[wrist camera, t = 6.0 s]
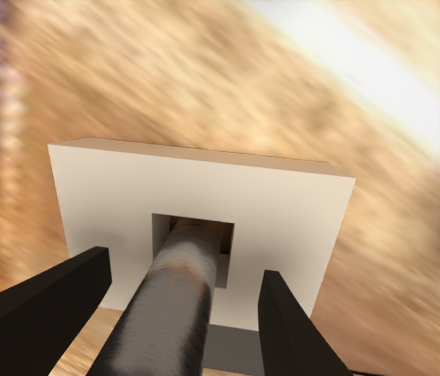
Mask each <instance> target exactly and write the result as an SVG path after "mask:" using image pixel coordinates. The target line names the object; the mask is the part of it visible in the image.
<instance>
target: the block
mask: <svg viewBox="0 0 440 376" xmlns="http://www.w3.org/2000/svg"><path fill="white" fill-rule="evenodd" d="M47 145H48V150H49V155H50V160H51V165H52V170H53V176H54V181H55V186H56V191H57V196H58V201H59V206H60V211H61V216H62V222H63V227H64V232H65V237H66V242H67V247H68V252H69V257H70V258H72V257H74V256H76V255H78V254H80V253H82V252H84V251H86V250H88V249H90V248H93V247H95V246H99V247H107V248H109V256H110V265H111V274H112V284H111V286H110V288H109V289H108V291H107V293H106V295H105V296H104V298H103V300H102V301H101V303H100V305H99V306H98V307H103V308H110V309H116V310H123V311H124V310H125V309H126V307H127V305H128V304H129V302H130V300H131V298H132V297H133V295H134V293H135V292H136V290H137V288H138V287H139V285H140V283H141V282H142V280H143V278H144V277H145V275H146V273H147V272H148V270H149V268H150V266H151V265H152V263H153V261H154V260H155V258H156V256H157V255H158V253H159V251H160V250H161V248H162V246H163V245H164V243H165V241H166V240H167V238H168V236H169V234H170V215H174V216H182V217H190V218H197V219H205V220H213V221H221V222H229V223H233V227H232V234H231V242H230V250H229V255H227V254H219V261H218V268H217V275H216V282H215V289H214V296H213V303H212V310H211V317H210V324H215V325H221V326H228V327H234V328H241V329H248V330H254V331H259V329H258V299H259V294H260V289H261V285H262V280H263V275H264V270H265V269H266V270H273V271H279V273H280V274H281V275H282V277H283V279H284V280H285V282H286V284H287V285H288V287H289V289H290V290H291V292H292V293H293V295H294V296H295V298H296V299H297V301H298V303H299V304H300V306H301V307H302V308H303V310H304V311H305V313H306V314H307V316H308V317H309V319H310V316H311V313H312V310H313V307H314V304H315V301H316V298H317V295H318V292H319V289H320V286H321V283H322V280H323V277H324V274H325V271H326V268H327V265H328V262H329V259H330V256H331V253H332V250H333V247H334V244H335V241H336V238H337V235H338V232H339V229H340V226H341V223H342V220H343V217H344V214H345V211H346V208H347V205H348V202H349V200H350V197H351V194H352V191H353V188H354V185H355V182H356V179H357V178H355V177H354V176H352V175H350V174H348V173H346V172H344V171H342V170H340V169H339V168H337V167H335V166H333V165H331V164H329V163H325V162H315V161H306V160H296V159H287V158H278V157H268V156H259V155H250V154H240V153H231V152H222V151H212V150H203V149H194V148H184V147H175V146H166V145H156V144H147V143H138V142H128V141H119V140H110V139H100V138H85V139H78V140H71V141H65V142H58V143H51V144H47Z"/></svg>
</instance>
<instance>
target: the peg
mask: <svg viewBox="0 0 440 376" xmlns="http://www.w3.org/2000/svg"><path fill="white" fill-rule="evenodd" d="M222 234H223V222H221V221H213V220H205V219H197V218H190V217H182V216H180V218H179V219H178V221H177V223H176V224H175V226H174V228H173V229H172V231H171V233H170V234H169V236H168V238H167V240H166V241H165V243H164V245H163V246H162V248H161V250H160V251H159V253H158V255H157V256H156V258H155V260H154V261H153V263H152V265H151V266H150V268H149V270H148V272H147V273H146V275H145V277H144V278H143V280H142V282H141V283H140V285H139V287H138V288H137V290H136V292H135V293H134V295H133V297H132V298H131V300H130V302H129V304H128V305H127V307H126V309H125V310H124V312H123V314H122V315H121V317H120V319H119V320H118V322H117V324H116V325H115V327H114V329H113V331H112V332H111V334H110V336H109V337H108V339H107V341H106V342H105V344H104V346H103V347H102V349H101V351H100V352H99V354H98V356H97V357H96V359H95V361H94V363H93V364H92V366H91V368H90V369H89V371H88V373H87V374H86V376H202V372H203V365H204V358H205V351H206V344H207V337H208V330H209V324H210V317H211V310H212V303H213V296H214V289H215V282H216V275H217V268H218V261H219V254H220V248H221V241H222Z"/></svg>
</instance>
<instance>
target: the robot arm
mask: <svg viewBox="0 0 440 376" xmlns="http://www.w3.org/2000/svg"><path fill="white" fill-rule="evenodd" d="M111 284H112V274H111V265H110V256H109V248H107V247H99V246H95V247H93V248H90V249H88V250H86V251H84V252H82V253H80V254H78V255H76V256H74V257H72V258H70V259H68V260H66V261H64V262H62V263H60V264H58V265H56V266H54V267H52V268H50V269H48V270H46V271H44V272H42V273H40V274H38V275H36V276H34V277H32V278H30V279H27V280H25V281H23V282H21V283H19V284H17V285H15V286H13V287H10V288H8V289H6V290H4V291H2V292H0V376H48V375H49V373H50V372H51V370H52V369H53V368H54V366H55V365H56V363H57V362H58V360H59V359H60V358H61V356H62V355H63V354H64V352H65V351H66V350H67V348H68V347H69V346H70V344H71V343H72V342H73V340H74V339H75V337H76V336H77V335H78V333H79V332H80V331H81V329H82V328H83V327H84V325H85V324H86V323H87V321H88V320H89V319H90V317H91V316H92V314H93V313H94V312H95V310H96V309H97V308H98V306H99V305H100V303H101V301H102V300H103V298H104V296H105V295H106V293H107V291H108V289H109V288H110V286H111ZM258 329H259V337H260V345H261V352H262V359H263V366H264V374H265V376H363V375H357V374H352V373H351V371H350V370H349V369H348V368H347V367H346V365H345V364H344V363H343V362H342V361H341V359H340V358H339V357H338V356H337V355H336V353H335V352H334V351H333V349H332V348H331V347H330V346H329V344H328V343H327V342H326V340H325V339H324V338H323V336H322V335H321V334H320V332H319V331H318V330H317V328H316V327H315V326H314V324H313V323H312V321H311V320H310V319H309V317H308V316H307V314H306V313H305V311H304V310H303V308H302V307H301V306H300V304H299V303H298V301H297V299H296V298H295V296H294V295H293V293H292V292H291V290H290V289H289V287H288V285H287V284H286V282H285V280H284V279H283V277H282V275H281V274H280V273H279V271H273V270H266V269H265V270H264V275H263V280H262V285H261V289H260V294H259V299H258Z"/></svg>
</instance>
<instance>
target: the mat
mask: <svg viewBox="0 0 440 376" xmlns="http://www.w3.org/2000/svg"><path fill="white" fill-rule="evenodd" d="M203 368H209V369H215V370H221V371H228V372H234V373H240V374H246V375H252V376H265V374H264V366H263V359H262V352H261V345H260V337H259V331H254V330H248V329H241V328H234V327H228V326H221V325H215V324H209V330H208V337H207V344H206V351H205V358H204V365H203Z"/></svg>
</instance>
